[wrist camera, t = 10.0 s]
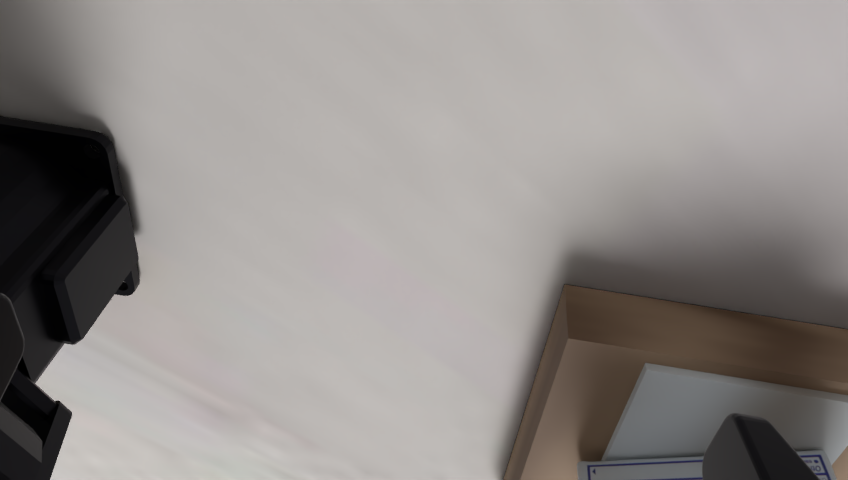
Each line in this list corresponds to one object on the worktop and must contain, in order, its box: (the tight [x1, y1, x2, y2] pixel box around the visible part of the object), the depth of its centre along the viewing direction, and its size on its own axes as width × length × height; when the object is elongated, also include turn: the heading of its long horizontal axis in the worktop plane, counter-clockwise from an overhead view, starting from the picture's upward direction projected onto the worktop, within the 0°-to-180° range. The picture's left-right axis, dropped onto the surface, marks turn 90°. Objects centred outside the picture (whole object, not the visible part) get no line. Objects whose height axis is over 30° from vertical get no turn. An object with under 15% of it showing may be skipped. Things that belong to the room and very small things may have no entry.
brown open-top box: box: [503, 285, 848, 480], centre depth 25 cm, size 12×12×3 cm
